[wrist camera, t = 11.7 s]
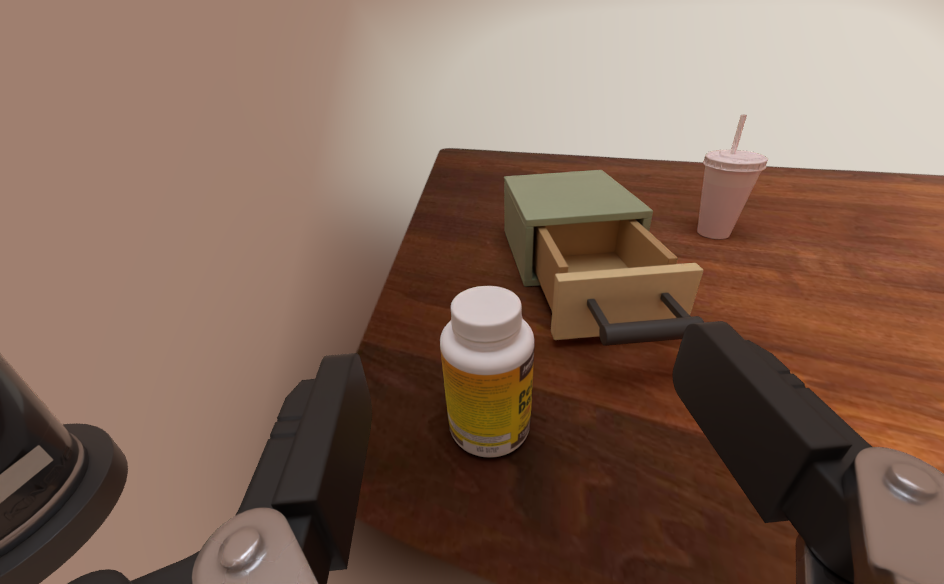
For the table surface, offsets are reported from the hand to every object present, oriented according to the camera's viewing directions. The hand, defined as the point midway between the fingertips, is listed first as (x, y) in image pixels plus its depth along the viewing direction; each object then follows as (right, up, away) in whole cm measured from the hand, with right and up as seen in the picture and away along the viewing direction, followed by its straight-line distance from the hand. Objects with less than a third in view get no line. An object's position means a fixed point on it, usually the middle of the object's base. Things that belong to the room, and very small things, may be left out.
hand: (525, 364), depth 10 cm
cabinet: (+10, +7, +39) cm, 41 cm away
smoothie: (+30, +9, +42) cm, 52 cm away
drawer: (+11, 0, +28) cm, 30 cm away
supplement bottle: (0, -8, +18) cm, 19 cm away
